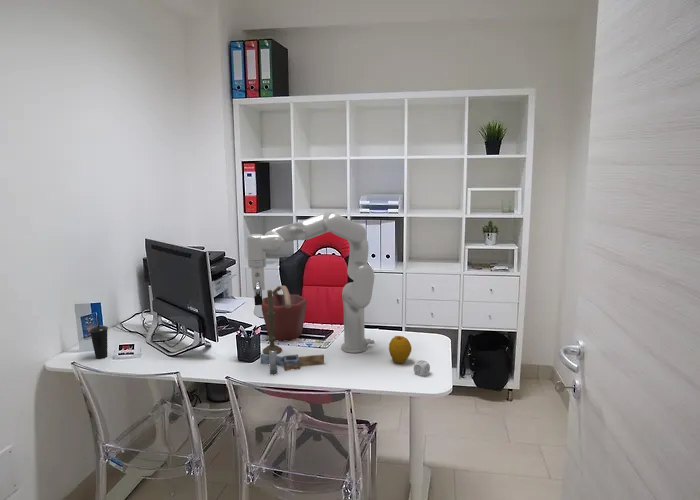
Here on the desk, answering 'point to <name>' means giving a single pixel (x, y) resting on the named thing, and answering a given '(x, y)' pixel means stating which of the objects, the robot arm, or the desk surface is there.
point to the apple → (399, 349)
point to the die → (421, 368)
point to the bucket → (285, 314)
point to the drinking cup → (99, 340)
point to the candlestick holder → (271, 326)
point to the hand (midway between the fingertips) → (258, 301)
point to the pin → (273, 361)
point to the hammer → (294, 360)
